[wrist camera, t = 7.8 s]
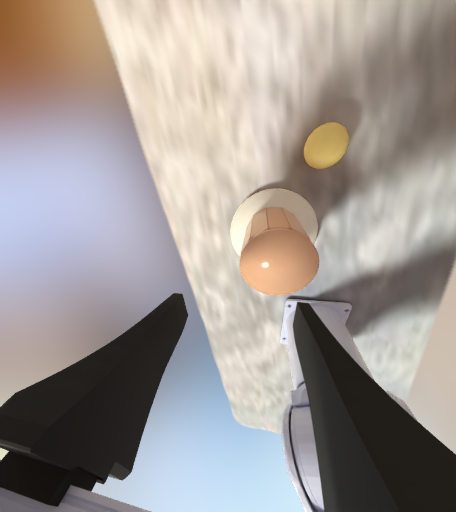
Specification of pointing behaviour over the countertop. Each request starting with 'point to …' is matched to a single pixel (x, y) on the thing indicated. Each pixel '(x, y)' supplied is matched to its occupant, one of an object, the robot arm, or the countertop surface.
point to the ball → (326, 145)
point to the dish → (273, 199)
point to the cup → (277, 253)
